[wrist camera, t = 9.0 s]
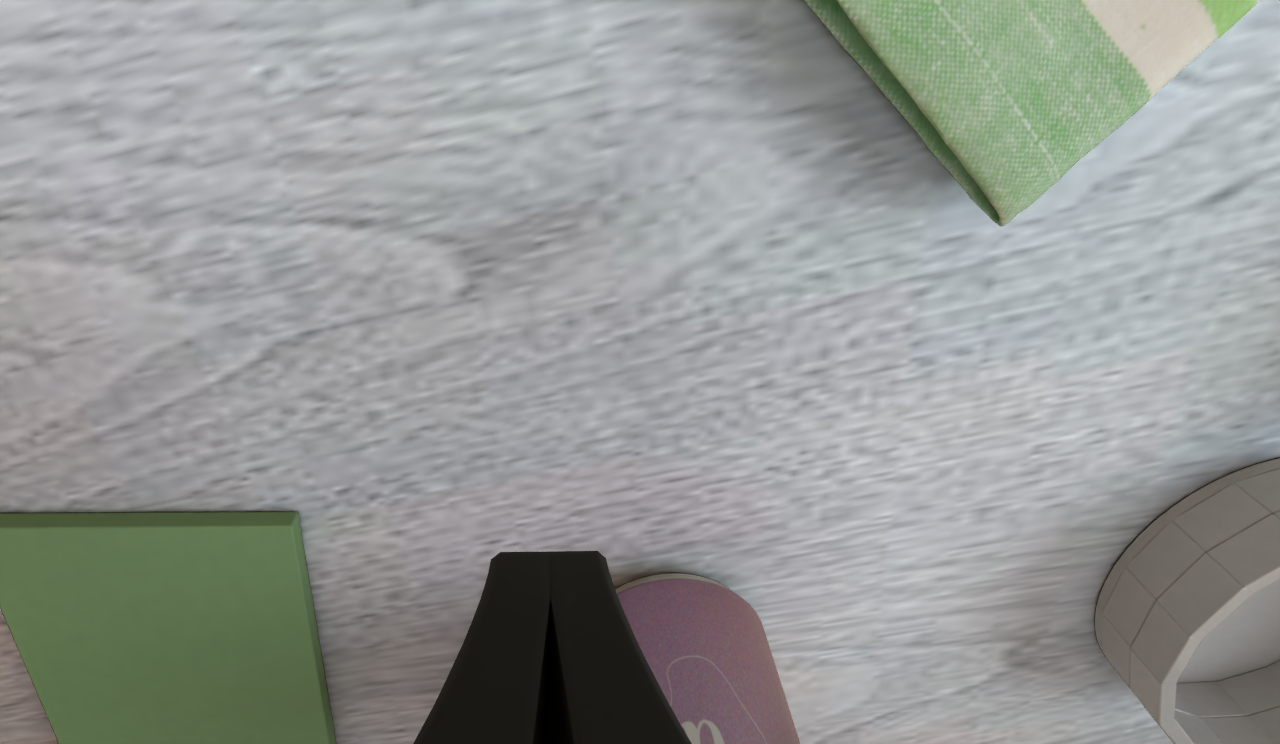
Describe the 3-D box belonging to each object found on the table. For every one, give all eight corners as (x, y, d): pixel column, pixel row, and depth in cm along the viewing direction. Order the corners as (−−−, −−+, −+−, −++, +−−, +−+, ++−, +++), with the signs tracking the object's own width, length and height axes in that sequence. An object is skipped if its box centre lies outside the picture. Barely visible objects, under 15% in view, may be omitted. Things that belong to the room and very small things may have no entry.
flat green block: (85, 767, 24) (75, 785, 23) (-21, 512, 19) (-36, 528, 19) (338, 755, 25) (334, 772, 24) (298, 511, 20) (291, 526, 20)
